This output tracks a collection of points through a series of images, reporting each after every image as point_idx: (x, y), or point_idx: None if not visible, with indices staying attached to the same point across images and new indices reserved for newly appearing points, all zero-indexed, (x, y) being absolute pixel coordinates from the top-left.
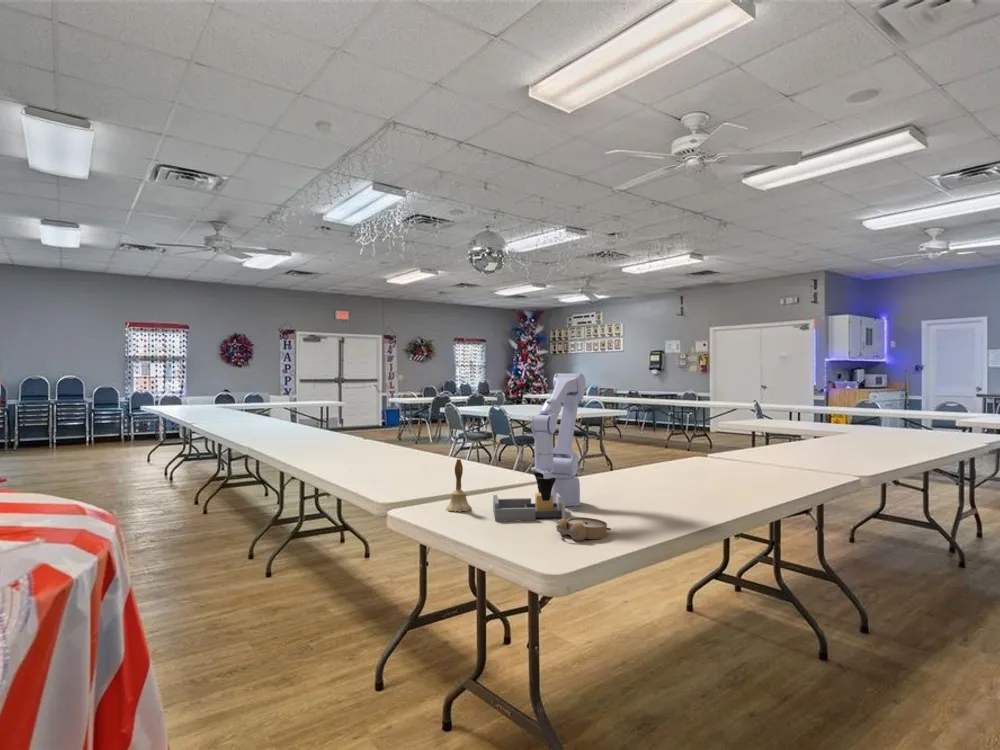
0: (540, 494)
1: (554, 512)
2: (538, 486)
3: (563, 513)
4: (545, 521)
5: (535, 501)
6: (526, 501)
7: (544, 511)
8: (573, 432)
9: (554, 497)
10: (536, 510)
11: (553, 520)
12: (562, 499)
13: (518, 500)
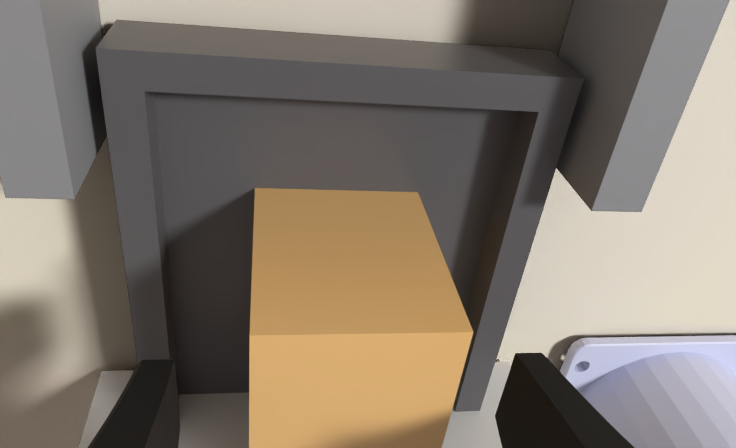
0: (344, 386)
1: (140, 357)
2: (577, 446)
3: (91, 422)
4: (21, 219)
5: (421, 248)
6: (597, 134)
7: (129, 276)
8: None
9: (642, 419)
10: (302, 194)
11: (72, 294)
12: None
13: (646, 19)
